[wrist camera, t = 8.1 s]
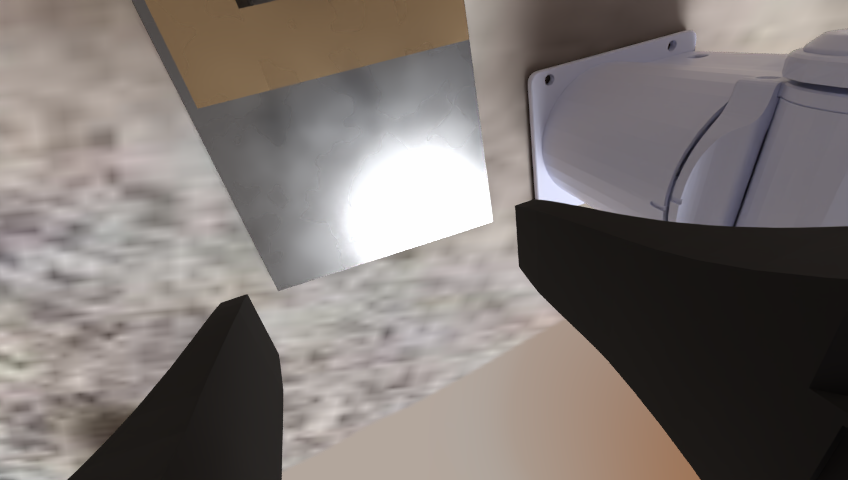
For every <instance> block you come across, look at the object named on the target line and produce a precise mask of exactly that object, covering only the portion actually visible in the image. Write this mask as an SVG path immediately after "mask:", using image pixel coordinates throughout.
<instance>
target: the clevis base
mask: <svg viewBox="0 0 848 480" xmlns="http://www.w3.org/2000/svg"><path fill="white" fill-rule="evenodd" d="M132 2H133V4H134V6H135V8H136V10H137V12H138V14H139V16H140V18H141V20H142V22H143V24H144V26H145V28H146V30H147V32H148V34H149V36H150V38H151V40H152V42H153V44H154V46H155V48H156V50H157V52H158V54H159V56H160V58H161V60H162V62H163V64H164V65H165V67H166V69H167V71H168V73H169V75H170V77H171V79H172V81H173V83H174V85H175V87H176V89H177V91H178V93H179V95H180V97H181V99H182V101H183V103H184V105H185V107H186V109H187V111H188V113H189V115H190V117H191V119H192V121H193V123H194V125H195V127H196V129H197V131H198V133H199V135H200V137H201V139H202V141H203V143H204V145H205V147H206V149H207V151H208V153H209V155H210V157H211V159H212V161H213V163H214V165H215V167H216V169H217V171H218V173H219V175H220V176H221V178H222V180H223V182H224V184H225V186H226V188H227V190H228V192H229V194H230V196H231V198H232V200H233V202H234V204H235V206H236V208H237V210H238V212H239V214H240V216H241V218H242V220H243V222H244V224H245V226H246V228H247V230H248V232H249V234H250V236H251V238H252V240H253V242H254V244H255V246H256V248H257V250H258V252H259V254H260V256H261V258H262V260H263V262H264V264H265V266H266V268H267V270H268V272H269V274H270V276H271V278H272V280H273V282H274V284H275V286H276V287H277V289H278V291H280V290H283V289H286V288H289V287H292V286H295V285H298V284H302V283H305V282H308V281H311V280H314V279H317V278H320V277H323V276H326V275H329V274H333V273H336V272H339V271H342V270H345V269H348V268H351V267H354V266H357V265H360V264H364V263H367V262H370V261H373V260H376V259H379V258H382V257H385V256H388V255H391V254H395V253H398V252H401V251H404V250H407V249H410V248H413V247H416V246H419V245H422V244H425V243H429V242H432V241H435V240H438V239H441V238H444V237H447V236H450V235H453V234H456V233H460V232H463V231H466V230H469V229H472V228H475V227H478V226H481V225H484V224H487V223H491V222H493V217H492V209H491V202H490V194H489V186H488V179H487V171H486V164H485V156H484V148H483V141H482V133H481V126H480V118H479V110H478V103H477V95H476V87H475V80H474V72H473V65H472V57H471V49H470V42H469V34H468V27H467V19H466V11H465V4H464V0H132Z"/></svg>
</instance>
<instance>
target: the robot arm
mask: <svg viewBox="0 0 848 480" xmlns="http://www.w3.org/2000/svg"><path fill="white" fill-rule="evenodd" d="M669 43H670V48H669V49H668V44H669ZM695 45H696V34H695V32H694V31H681V32H678V33H674V34H670V35H667V36H663V37H659V38H656V39H652V40H648V41H645V42H641V43H637V44H634V45H630V46H626V47H623V48H619V49H615V50H612V51H608V52H604V53H601V54H597V55H593V56H590V57H586V58H582V59H579V60H575V61H571V62H568V63H564V64H561V65H557V66H553V67H550V68H546V69H542V70H539V71H536V72H534V73H532V74H531V75H530V77H529V79H528V97H529V112H530V127H531V142H532V157H533V172H534V188H535V199H534V200H531V201H528V202H525V203H522V204H519V205H516V206H515V210H516V226H517V242H518V258H519V267H520V269H521V270H522V271H523V273H524V274H525V275H526V277H527V278H528V279H529V281H530V282H531V283H532V285H533V286H534V287H535V288H536V290H537V291H538V292H539V293H540V294H541V295H542V296H543V297H544V298H545V299H546V300H547V301H548V302H549V303H550V304H551V305H552V306H553V307H554V308H555V309H556V310H557V311H558V312H559V313H560V314H561V315H562V316H563V317H564V318H565V319H566V320H567V321H568V322H570V324H572V325H573V326H574V327H575V328H576V329H577V330H578V331H579V332H580V333H581V334H582V335H583V336H584V337H585V338H586V339H587V340H588V341H589V342H590V343H591V344H592V345H593V346H594V347H596V349H597V350H598V351H599V352H600V353H601V354H602V355H603V356H604V357H605V358H606V359H607V360H608V361H609V362H610V364H611V365H612V366H613V367H614V368H615V370H616V371H617V372H618V373H619V374H620V376H621V377H622V378H623V379H624V380H625V381H626V383H627V384H628V385H629V386H630V387H631V389H632V390H633V391H634V392H635V393H636V394H637V396H638V397H639V398H640V399H641V401H642V402H643V404H644V405H645V406H646V407H647V409H648V410H649V411H650V412H651V414H652V415H653V416H654V417H655V419H656V420H657V421H658V422H659V424H660V425H661V426H662V428H663V429H664V430H665V432H666V433H667V434H668V436H669V437H670V438H671V440H672V441H673V442H674V444H675V445H676V446H677V448H678V449H679V450H680V452H681V453H682V454H683V456H684V457H685V458H686V460H687V461H688V462H689V464H690V465H691V466H692V468H693V469H694V471H695V472H696V474H697V475H698V476H699V478H700V479H701V480H848V29H840V30H833V31H828V32H825V33H823V34H821V35H820V36H818V37H817V38H815V39H814V40H812V41H811V42H809V43H808V44H806V45H805V46H804V48H799V49H796V50H794V51H792V52H791V53H789V54H766V53H734V52H703V51H695ZM547 75H550V81H549V83H548V84H545V78H546V76H547ZM584 203H586V204H588V205H589V206H591V207H593V208H595V209H591V208H586V207H581V206H578V205H581V204H584ZM282 438H283V384H282V375H281V367H280V359H279V354H278V352H277V350H276V348H275V346H274V344H273V342H272V340H271V339H270V337H269V335H268V333H267V331H266V329H265V327H264V325H263V323H262V321H261V319H260V317H259V316H258V314H257V312H256V310H255V308H254V306H253V304H252V302H251V300H250V298H249V296H248V294H246V295H243V296H240V297H237V298H234V299H231V300H228V301H225V302H222V303H220V305H219V306H218V307H217V308H216V309H215V310H214V312H213V313H212V314H211V315H210V317H209V318H208V319H207V321H206V322H205V323H204V325H203V326H202V327H201V329H200V330H199V331H198V333H197V334H196V335H195V337H194V338H193V339H192V340H191V342H190V343H189V344H188V346H187V347H186V348H185V350H184V351H183V352H182V353H181V355H180V356H179V357H178V359H177V360H176V361H175V363H174V364H173V365H172V366H171V368H170V369H169V370H168V371H167V373H166V374H165V375H164V376H163V377H162V378H161V380H160V381H159V382H158V383H157V384H156V386H155V387H154V388H153V389H152V390H151V392H150V393H149V394H148V395H147V396H146V398H145V399H144V400H143V401H142V402H141V404H140V405H139V406H138V407H137V408H136V409H135V411H134V412H133V413H132V414H131V415H130V416H129V417H128V418H127V420H126V421H125V422H124V423H123V424H122V425H121V426H120V427H119V428H118V429H117V430H116V431H115V433H114V434H113V435H112V436H111V437H110V438H109V439H108V440H107V441H106V442H105V443H104V444H103V445H102V446H101V447H100V448H99V449H98V450H97V451H96V452H95V453H94V454H93V455H92V456H91V457H90V458H89V459H88V460H87V461H86V462H85V463H84V464H83V465H82V466H81V467H80V468H79V469H78V470H77V471H76V472H75V473H74V474H73V475H72V476H71V477H70V478H69V479H68V480H281V479H282V478H281V477H282Z"/></svg>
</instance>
